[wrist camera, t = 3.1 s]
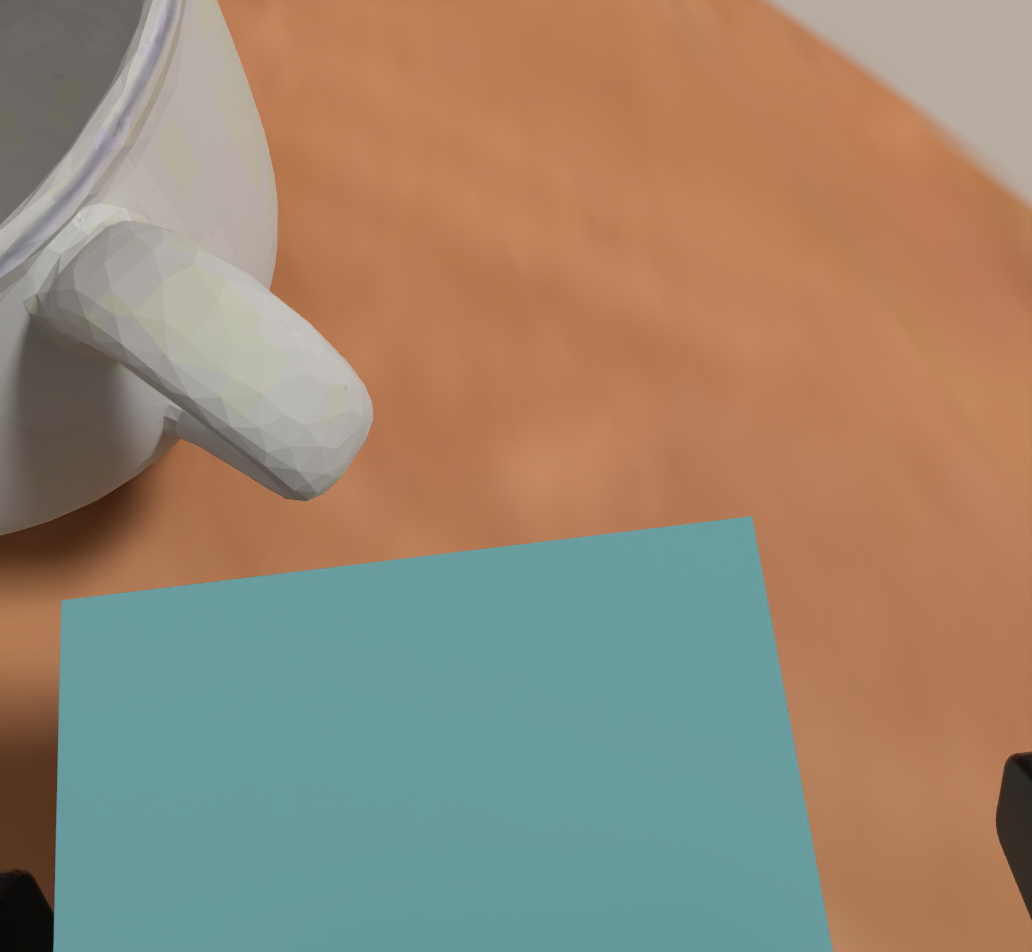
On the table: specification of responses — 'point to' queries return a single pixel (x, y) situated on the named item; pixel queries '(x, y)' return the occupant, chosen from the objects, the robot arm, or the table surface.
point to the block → (439, 757)
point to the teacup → (147, 266)
